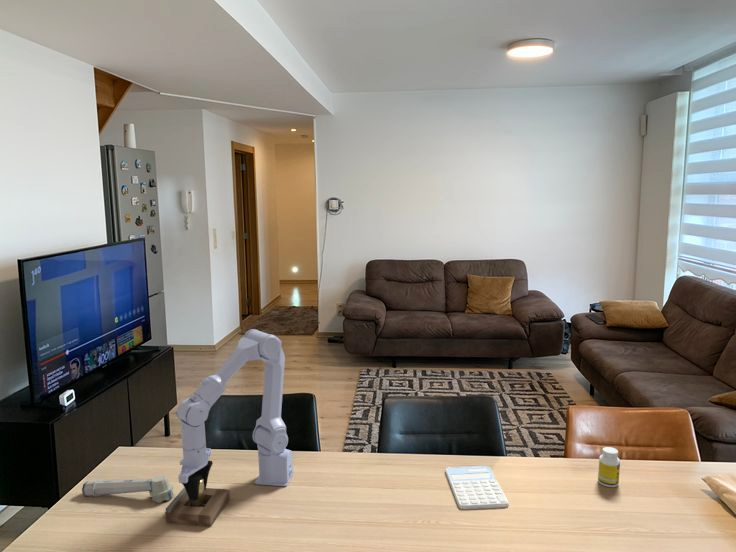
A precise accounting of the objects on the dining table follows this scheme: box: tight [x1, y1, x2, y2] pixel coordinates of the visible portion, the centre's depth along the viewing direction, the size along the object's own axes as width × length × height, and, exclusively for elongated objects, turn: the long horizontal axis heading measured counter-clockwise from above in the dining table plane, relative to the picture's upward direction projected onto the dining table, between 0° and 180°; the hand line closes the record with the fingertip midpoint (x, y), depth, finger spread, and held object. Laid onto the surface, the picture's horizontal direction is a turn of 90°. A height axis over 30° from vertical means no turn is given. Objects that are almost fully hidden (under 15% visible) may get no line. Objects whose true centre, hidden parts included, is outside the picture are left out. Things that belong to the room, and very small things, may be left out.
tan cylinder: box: [189, 477, 205, 507], centre depth 143 cm, size 4×4×6 cm
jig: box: [164, 486, 231, 527], centre depth 144 cm, size 12×12×4 cm
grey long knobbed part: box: [81, 475, 174, 504], centre depth 151 cm, size 5×7×25 cm
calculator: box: [445, 465, 510, 510], centre depth 153 cm, size 13×20×2 cm, turn 3°
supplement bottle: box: [597, 446, 621, 488], centre depth 154 cm, size 5×5×10 cm
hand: (197, 494), depth 143 cm, fingers closed on tan cylinder, 4 cm apart
